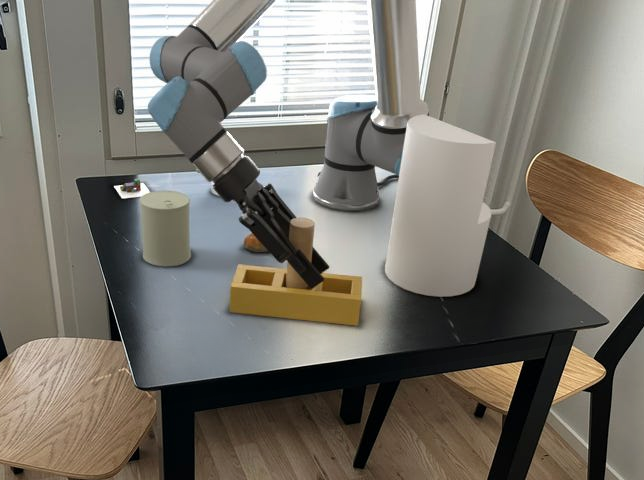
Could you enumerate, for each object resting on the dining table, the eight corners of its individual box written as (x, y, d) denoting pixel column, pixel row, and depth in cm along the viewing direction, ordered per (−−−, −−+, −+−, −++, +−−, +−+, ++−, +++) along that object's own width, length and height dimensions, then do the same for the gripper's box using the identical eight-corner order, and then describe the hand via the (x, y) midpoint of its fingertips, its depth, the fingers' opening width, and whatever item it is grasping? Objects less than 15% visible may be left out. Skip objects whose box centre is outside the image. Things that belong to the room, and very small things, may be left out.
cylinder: (426, 304, 128) (457, 149, 112) (366, 265, 140) (386, 119, 124) (495, 284, 136) (532, 136, 120) (432, 248, 148) (459, 109, 132)
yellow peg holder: (237, 289, 129) (238, 264, 126) (358, 301, 128) (362, 276, 125) (229, 312, 122) (230, 286, 119) (357, 326, 121) (361, 300, 118)
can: (150, 269, 134) (146, 209, 127) (137, 249, 140) (133, 190, 134) (197, 262, 137) (196, 203, 130) (182, 243, 144) (181, 185, 137)
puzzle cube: (137, 186, 167) (137, 176, 166) (140, 190, 165) (140, 180, 164) (119, 188, 166) (119, 178, 165) (122, 192, 164) (122, 182, 162)
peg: (299, 290, 126) (305, 215, 118) (312, 300, 123) (319, 224, 116) (280, 295, 124) (285, 220, 116) (293, 305, 122) (299, 229, 114)
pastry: (256, 258, 140) (256, 239, 138) (235, 245, 144) (235, 227, 142) (292, 246, 145) (294, 229, 143) (272, 235, 149) (272, 217, 147)
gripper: (227, 166, 123) (313, 267, 129) (194, 201, 109) (293, 313, 116) (258, 139, 119) (345, 245, 126) (228, 172, 105) (328, 289, 112)
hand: (320, 277), depth 121 cm, fingers closed on peg, 4 cm apart
